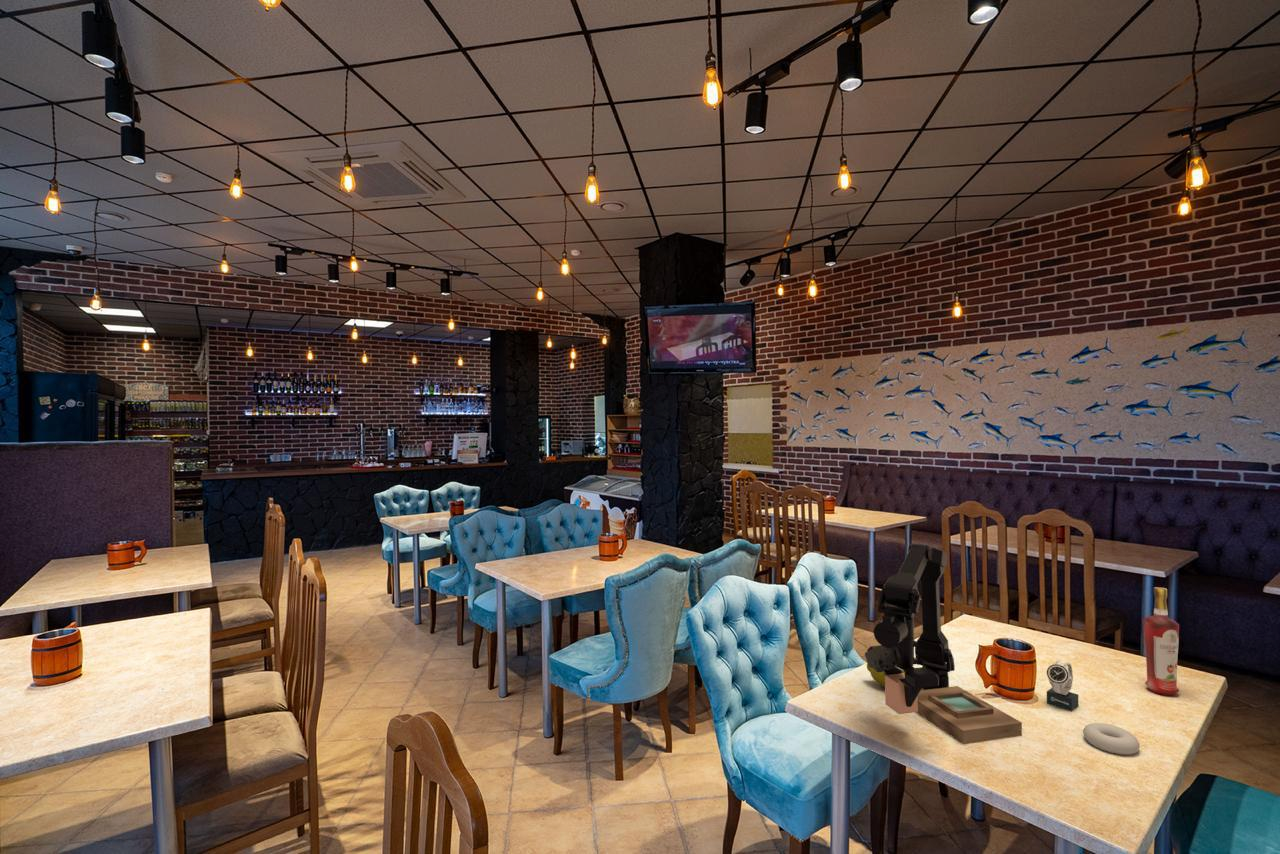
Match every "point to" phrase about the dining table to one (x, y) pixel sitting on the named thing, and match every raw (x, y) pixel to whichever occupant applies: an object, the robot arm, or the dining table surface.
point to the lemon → (878, 676)
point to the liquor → (1161, 647)
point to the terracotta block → (897, 695)
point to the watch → (1061, 686)
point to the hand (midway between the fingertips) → (901, 701)
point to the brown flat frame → (966, 715)
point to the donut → (1111, 738)
